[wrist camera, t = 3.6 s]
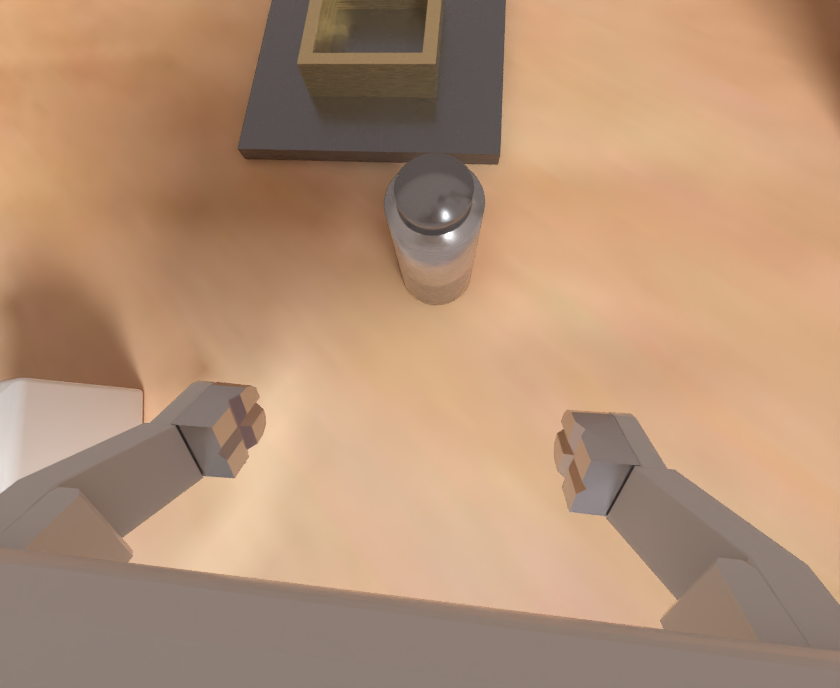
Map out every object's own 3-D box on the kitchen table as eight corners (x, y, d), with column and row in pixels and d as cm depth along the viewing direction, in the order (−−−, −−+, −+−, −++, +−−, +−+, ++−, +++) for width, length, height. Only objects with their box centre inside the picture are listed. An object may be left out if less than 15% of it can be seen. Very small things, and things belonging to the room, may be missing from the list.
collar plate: (505, -31, 30) (513, -90, 26) (497, 164, 25) (506, 124, 22) (286, -27, 31) (267, -81, 28) (244, 158, 27) (216, 120, 24)
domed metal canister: (472, 243, 24) (489, 143, 15) (468, 307, 23) (485, 238, 14) (405, 240, 25) (386, 141, 16) (399, 303, 24) (374, 233, 15)
